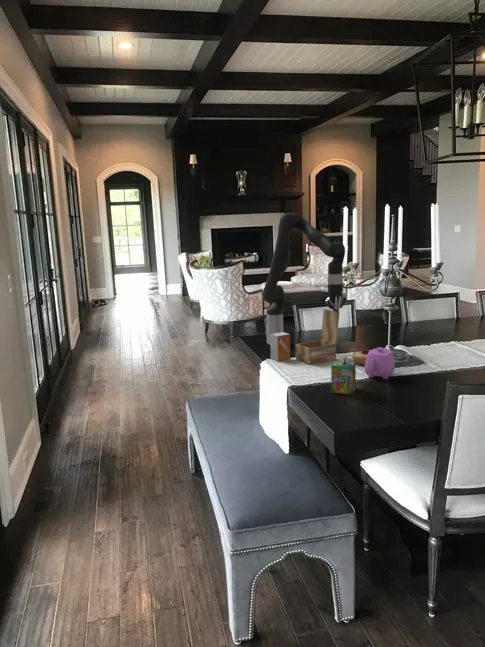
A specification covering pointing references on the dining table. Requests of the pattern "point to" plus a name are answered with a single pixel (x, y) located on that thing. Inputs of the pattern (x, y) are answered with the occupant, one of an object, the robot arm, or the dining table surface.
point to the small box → (280, 346)
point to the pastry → (360, 356)
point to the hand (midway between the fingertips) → (335, 316)
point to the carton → (315, 352)
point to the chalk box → (343, 376)
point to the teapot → (379, 363)
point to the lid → (330, 326)
